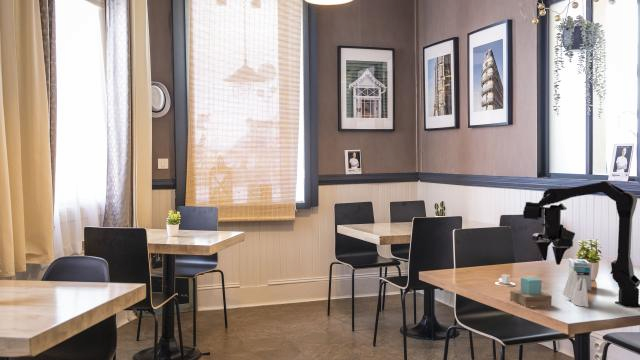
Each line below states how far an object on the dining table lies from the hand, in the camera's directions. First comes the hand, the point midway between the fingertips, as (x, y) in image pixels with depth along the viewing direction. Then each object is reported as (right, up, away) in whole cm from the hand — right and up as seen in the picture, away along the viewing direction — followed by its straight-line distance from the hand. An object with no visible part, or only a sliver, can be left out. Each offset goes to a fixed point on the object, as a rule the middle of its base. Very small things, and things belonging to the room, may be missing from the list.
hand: (551, 262), depth 233 cm
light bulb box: (+16, -12, +13) cm, 24 cm away
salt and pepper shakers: (+4, -13, -13) cm, 19 cm away
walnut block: (-13, -13, -14) cm, 23 cm away
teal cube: (-13, -9, -14) cm, 21 cm away
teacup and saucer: (-9, -12, +20) cm, 25 cm away
